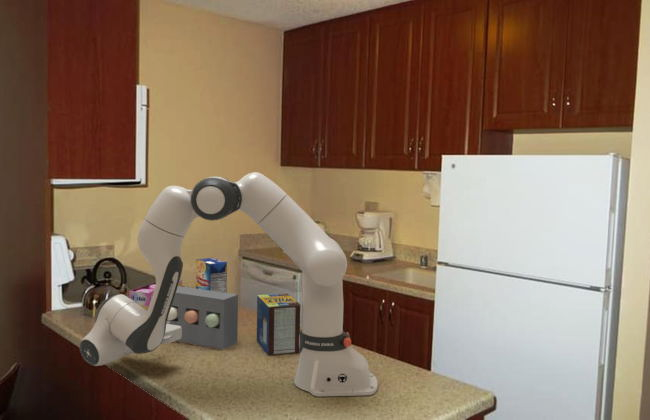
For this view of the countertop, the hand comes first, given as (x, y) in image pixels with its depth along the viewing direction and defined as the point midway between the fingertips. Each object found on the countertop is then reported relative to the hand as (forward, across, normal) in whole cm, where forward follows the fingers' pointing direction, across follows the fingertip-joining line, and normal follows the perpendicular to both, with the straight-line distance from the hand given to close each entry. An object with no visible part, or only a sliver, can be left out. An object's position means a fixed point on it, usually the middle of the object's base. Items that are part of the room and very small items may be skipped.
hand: (166, 323), depth 169 cm
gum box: (+28, +27, +10) cm, 40 cm away
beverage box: (+39, +12, +10) cm, 42 cm away
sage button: (+14, -8, +3) cm, 16 cm away
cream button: (+14, +8, +3) cm, 16 cm away
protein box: (+24, -25, +11) cm, 36 cm away
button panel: (+17, 0, +10) cm, 20 cm away
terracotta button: (+14, 0, +3) cm, 14 cm away
